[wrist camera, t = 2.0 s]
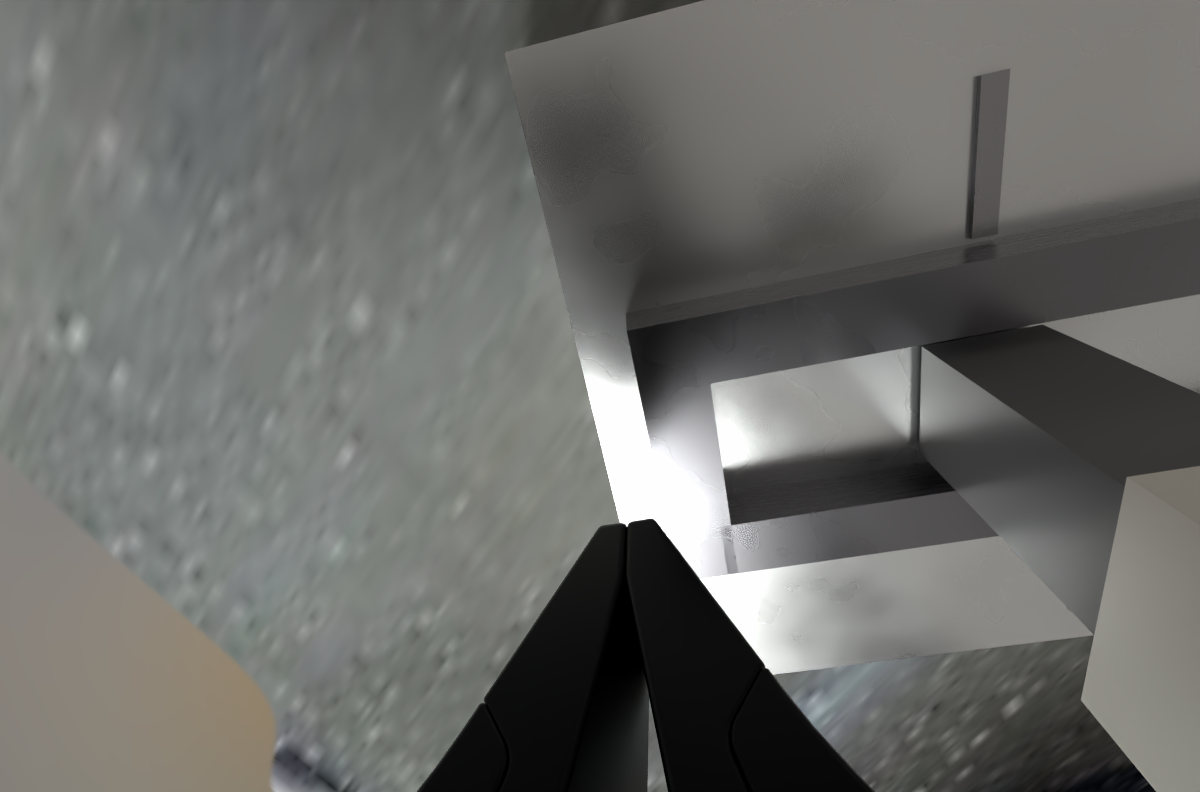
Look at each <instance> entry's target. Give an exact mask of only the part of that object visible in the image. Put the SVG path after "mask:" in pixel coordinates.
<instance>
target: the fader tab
mask: <svg viewBox="0 0 1200 792" xmlns="http://www.w3.org/2000/svg"><path fill="white" fill-rule="evenodd" d="M919 453H920V454H921V455H922V456H923V457H924V458H925V459H926V460H927V461H928V462H929V463H930V464H931V465H932V466H933V467H934V468H935V469H936V470H937V471H938V473H939V474H940V475H941V476H942V477H943V478H944V479H945V480H946V481H947V482H948V483H949V484H950V485H951V486H952V487H953V488H954V489H955V490H956V491H957V492H958V493H959V495H960V496H961V497H962V498H963V499H964V500H965V501H966V502H967V503H968V504H969V505H970V506H971V507H972V508H973V509H974V510H975V511H976V512H977V513H978V514H979V515H980V516H981V518H982V519H983V520H984V521H985V522H986V523H987V524H988V525H989V526H990V527H991V528H992V529H993V530H994V531H995V532H996V533H997V534H998V535H999V536H1000V537H1001V538H1002V539H1003V541H1004V542H1005V543H1006V544H1007V545H1008V546H1009V547H1010V548H1011V549H1012V550H1013V551H1014V552H1015V553H1016V554H1017V555H1018V556H1019V557H1020V558H1021V559H1022V560H1023V561H1024V562H1025V564H1026V565H1027V566H1028V567H1029V568H1030V569H1031V570H1032V571H1033V572H1034V573H1035V574H1036V575H1037V576H1038V577H1039V578H1040V579H1041V580H1042V581H1043V582H1044V583H1045V584H1046V585H1047V587H1048V588H1049V589H1050V590H1051V591H1052V592H1053V593H1054V594H1055V595H1056V596H1057V597H1058V598H1059V599H1060V600H1061V601H1062V602H1063V603H1064V604H1065V605H1066V606H1067V607H1068V608H1069V610H1070V611H1071V612H1072V613H1073V614H1074V615H1075V616H1076V617H1077V618H1078V619H1079V620H1080V621H1081V622H1082V623H1083V624H1084V625H1085V626H1086V627H1087V628H1088V629H1089V630H1090V631H1091V633H1092V634H1093V635H1094V638H1093V643H1092V648H1091V653H1090V658H1089V663H1088V667H1087V672H1086V677H1085V682H1084V687H1083V692H1082V696H1081V701H1082V702H1083V703H1084V705H1085V706H1086V707H1087V708H1088V710H1089V711H1090V712H1091V713H1092V714H1093V716H1094V717H1095V718H1096V719H1097V720H1098V722H1099V723H1100V724H1101V725H1102V727H1103V728H1104V729H1105V730H1106V731H1107V733H1108V734H1109V735H1110V736H1111V737H1112V739H1113V740H1114V741H1115V742H1116V744H1117V745H1118V746H1119V747H1120V748H1121V750H1122V751H1123V752H1124V753H1125V754H1126V756H1127V757H1128V758H1129V759H1130V761H1131V762H1132V763H1133V764H1134V765H1135V767H1136V768H1137V769H1138V770H1139V771H1140V773H1141V774H1142V775H1143V776H1144V778H1145V779H1146V780H1147V781H1148V782H1149V784H1150V785H1151V786H1152V787H1153V789H1154V790H1155V791H1156V792H1200V394H1199V393H1197V392H1194V391H1192V390H1190V389H1187V388H1185V387H1183V386H1181V385H1178V384H1176V383H1174V382H1172V381H1169V380H1167V379H1165V378H1163V377H1160V376H1158V375H1156V374H1154V373H1151V372H1149V371H1147V370H1144V369H1142V368H1140V367H1138V366H1135V365H1133V364H1131V363H1129V362H1126V361H1124V360H1122V359H1120V358H1117V357H1115V356H1113V355H1111V354H1108V353H1106V352H1104V351H1102V350H1099V349H1097V348H1095V347H1092V346H1090V345H1088V344H1086V343H1083V342H1081V341H1079V340H1077V339H1074V338H1072V337H1070V336H1068V335H1065V334H1063V333H1061V332H1059V331H1056V330H1054V329H1052V328H1049V327H1047V326H1045V325H1043V324H1042V325H1037V326H1031V327H1026V328H1021V329H1015V330H1010V331H1004V332H999V333H993V334H988V335H982V336H977V337H971V338H966V339H960V340H955V341H949V342H944V343H938V344H933V345H927V346H922V355H921V396H920V437H919Z"/></svg>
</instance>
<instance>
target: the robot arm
mask: <svg viewBox="0 0 1200 792" xmlns="http://www.w3.org/2000/svg"><path fill="white" fill-rule="evenodd" d="M649 698H650V703H651V708H652V713H653V718H654V723H655V728H656V733H657V738H658V743H659V748H660V753H661V758H662V763H663V768H664V773H665V778H666V783H667V788H668V792H875V791H874V790H873V789H872V788H871V787H870V786H869V785H868V784H867V783H866V782H865V781H864V780H863V779H862V778H861V777H860V776H859V775H858V774H857V773H856V772H855V771H854V770H853V769H852V768H851V766H850V765H849V764H848V763H847V762H846V761H845V760H844V759H843V758H842V757H841V756H840V754H839V753H838V752H837V751H836V750H835V749H834V748H833V747H832V746H831V745H830V744H829V742H828V741H827V740H826V739H825V738H824V737H823V736H822V735H821V734H820V733H819V732H818V730H817V729H816V728H815V727H814V726H813V725H812V723H811V722H810V721H809V720H808V719H807V717H806V716H805V715H804V714H803V712H802V711H801V710H800V709H799V707H798V706H797V705H796V704H795V703H794V701H793V700H792V699H791V698H790V696H789V695H788V694H787V693H786V691H785V690H784V689H783V687H782V686H781V685H780V683H779V682H778V681H777V679H776V678H775V677H774V676H773V674H772V673H771V672H770V670H769V669H767V668H765V665H764V663H763V662H762V660H761V659H760V658H759V656H758V655H757V654H756V652H755V651H754V650H753V648H752V647H751V646H750V644H749V643H748V642H747V640H746V639H745V638H744V636H743V635H742V634H741V632H740V631H739V630H738V628H737V627H736V626H735V624H734V623H733V622H732V621H731V619H730V618H729V617H728V615H727V614H726V613H725V611H724V610H723V609H722V607H721V606H720V605H719V603H718V602H717V601H716V599H715V598H714V597H713V595H712V594H711V593H710V591H709V590H708V589H707V587H706V586H705V585H704V584H703V582H702V581H701V580H700V578H699V577H698V576H697V574H696V573H695V572H694V570H693V569H692V568H691V566H690V565H689V564H688V562H687V561H686V560H685V558H684V557H683V556H682V554H681V553H680V552H679V550H678V549H677V548H676V546H675V545H674V544H673V543H672V541H671V540H670V539H669V537H668V536H667V535H666V533H665V532H664V531H663V529H662V528H661V527H660V525H659V524H658V523H657V521H656V520H655V519H653V518H648V519H642V520H635V521H631V522H629V523H628V525H626V524H625V523H616V524H610V525H604V526H601V527H600V528H599V529H598V530H597V531H596V533H595V534H594V536H593V537H592V539H591V540H590V542H589V543H588V545H587V546H586V548H585V549H584V551H583V552H582V554H581V555H580V557H579V558H578V560H577V561H576V562H575V564H574V565H573V567H572V568H571V570H570V571H569V573H568V574H567V576H566V577H565V579H564V580H563V582H562V583H561V585H560V586H559V588H558V589H557V591H556V592H555V594H554V595H553V597H552V598H551V600H550V601H549V603H548V604H547V606H546V607H545V609H544V610H543V611H542V613H541V614H540V616H539V617H538V619H537V620H536V622H535V623H534V625H533V626H532V628H531V629H530V631H529V632H528V634H527V635H526V637H525V638H524V640H523V641H522V643H521V644H520V646H519V647H518V649H517V650H516V652H515V653H514V655H513V656H512V657H511V659H510V660H509V662H508V663H507V665H506V666H505V668H504V669H503V671H502V672H501V674H500V675H499V677H498V678H497V680H496V681H495V683H494V684H493V686H492V687H491V689H490V690H489V692H488V693H487V695H486V696H485V698H484V703H485V704H484V703H481V704H480V705H479V706H478V708H477V709H476V711H475V712H474V713H473V715H472V716H471V718H470V719H469V721H468V722H467V724H466V725H465V727H464V728H463V730H462V731H461V733H460V734H459V735H458V737H457V738H456V740H455V741H454V742H453V744H452V745H451V747H450V748H449V749H448V751H447V752H446V754H445V755H444V757H443V758H442V759H441V761H440V762H439V764H438V765H437V766H436V768H435V769H434V770H433V772H432V773H431V774H430V775H429V777H428V778H427V779H426V781H425V782H424V783H423V784H422V786H421V787H420V788H419V790H418V791H417V792H647V781H648V722H649Z"/></svg>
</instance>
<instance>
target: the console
mask: <svg viewBox="0 0 1200 792" xmlns="http://www.w3.org/2000/svg"><path fill="white" fill-rule="evenodd" d="M504 53H505V57H506V62H507V66H508V70H509V74H510V78H511V82H512V86H513V90H514V94H515V98H516V102H517V106H518V110H519V114H520V118H521V122H522V126H523V130H524V135H525V139H526V143H527V147H528V151H529V155H530V159H531V163H532V167H533V171H534V175H535V179H536V183H537V187H538V191H539V195H540V199H541V203H542V208H543V212H544V216H545V220H546V224H547V228H548V232H549V236H550V240H551V244H552V248H553V252H554V256H555V260H556V264H557V268H558V272H559V276H560V281H561V285H562V289H563V293H564V297H565V301H566V305H567V309H568V313H569V317H570V321H571V325H572V329H573V333H574V337H575V341H576V345H577V349H578V354H579V358H580V362H581V366H582V370H583V374H584V378H585V382H586V386H587V390H588V394H589V398H590V402H591V406H592V410H593V414H594V418H595V422H596V427H597V431H598V435H599V439H600V443H601V447H602V451H603V455H604V459H605V463H606V467H607V471H608V475H609V479H610V483H611V487H612V491H613V495H614V500H615V504H616V508H617V512H618V516H619V520H620V523H625V524H626V525H628V523H629V522H631V521H635V520H642V519H648V518H653V519H655V520H656V521H657V523H658V524H659V525H660V527H661V528H662V529H663V531H664V532H665V533H666V535H667V536H668V537H669V539H670V540H671V541H672V543H673V544H674V545H675V546H676V548H677V549H678V550H679V552H680V553H681V554H682V556H683V557H684V558H685V560H686V561H687V562H688V564H689V565H690V566H691V568H692V569H693V570H694V572H695V573H696V574H697V576H698V577H699V578H700V580H701V581H702V582H703V584H704V585H705V586H706V587H707V589H708V590H709V591H710V593H711V594H712V595H713V597H714V598H715V599H716V601H717V602H718V603H719V605H720V606H721V607H722V609H723V610H724V611H725V613H726V614H727V615H728V617H729V618H730V619H731V621H732V622H733V623H734V624H735V626H736V627H737V628H738V630H739V631H740V632H741V634H742V635H743V636H744V638H745V639H746V640H747V642H748V643H749V644H750V646H751V647H752V648H753V650H754V651H755V652H756V654H757V655H758V656H759V658H760V659H761V660H762V662H763V663H764V665H765V668H767V669H769V670H770V672H771V673H772V674H782V673H790V672H798V671H806V670H814V669H822V668H831V667H839V666H847V665H855V664H863V663H871V662H880V661H888V660H896V659H904V658H912V657H920V656H929V655H937V654H945V653H953V652H961V651H969V650H978V649H986V648H994V647H1002V646H1010V645H1018V644H1027V643H1035V642H1043V641H1051V640H1059V639H1067V638H1076V637H1084V636H1092V635H1093V634H1092V633H1091V631H1090V630H1089V629H1088V628H1087V627H1086V626H1085V625H1084V624H1083V623H1082V622H1081V621H1080V620H1079V619H1078V618H1077V617H1076V616H1075V615H1074V614H1073V613H1072V612H1071V611H1070V610H1069V608H1068V607H1067V606H1066V605H1065V604H1064V603H1063V602H1062V601H1061V600H1060V599H1059V598H1058V597H1057V596H1056V595H1055V594H1054V593H1053V592H1052V591H1051V590H1050V589H1049V588H1048V587H1047V585H1046V584H1045V583H1044V582H1043V581H1042V580H1041V579H1040V578H1039V577H1038V576H1037V575H1036V574H1035V573H1034V572H1033V571H1032V570H1031V569H1030V568H1029V567H1028V566H1027V565H1026V564H1025V562H1024V561H1023V560H1022V559H1021V558H1020V557H1019V556H1018V555H1017V554H1016V553H1015V552H1014V551H1013V550H1012V549H1011V548H1010V547H1009V546H1008V545H1007V544H1006V543H1005V542H1004V541H1003V539H1002V538H1001V537H1000V536H999V535H998V534H997V533H996V532H995V531H994V530H993V529H992V528H991V527H990V526H989V525H988V524H987V523H986V522H985V521H984V520H983V519H982V518H981V516H980V515H979V514H978V513H977V512H976V511H975V510H974V509H973V508H972V507H971V506H970V505H969V504H968V503H967V502H966V501H965V500H964V499H963V498H962V497H961V496H960V495H959V493H958V492H957V491H956V490H955V489H954V488H953V487H952V486H951V485H950V484H949V483H948V482H947V481H946V480H945V479H944V478H943V477H942V476H941V475H940V474H939V473H938V471H937V470H936V469H935V468H934V467H933V466H932V465H931V464H930V463H929V462H928V461H927V460H926V459H925V458H924V457H923V456H922V455H921V454H920V453H919V437H920V396H921V355H922V346H927V345H933V344H938V343H944V342H949V341H955V340H960V339H966V338H971V337H977V336H982V335H988V334H993V333H999V332H1004V331H1010V330H1015V329H1021V328H1026V327H1031V326H1037V325H1042V324H1043V325H1045V326H1047V327H1049V328H1052V329H1054V330H1056V331H1059V332H1061V333H1063V334H1065V335H1068V336H1070V337H1072V338H1074V339H1077V340H1079V341H1081V342H1083V343H1086V344H1088V345H1090V346H1092V347H1095V348H1097V349H1099V350H1102V351H1104V352H1106V353H1108V354H1111V355H1113V356H1115V357H1117V358H1120V359H1122V360H1124V361H1126V362H1129V363H1131V364H1133V365H1135V366H1138V367H1140V368H1142V369H1144V370H1147V371H1149V372H1151V373H1154V374H1156V375H1158V376H1160V377H1163V378H1165V379H1167V380H1169V381H1172V382H1174V383H1176V384H1178V385H1181V386H1183V387H1185V388H1187V389H1190V390H1192V391H1194V392H1197V393H1199V394H1200V0H703V1H699V2H695V3H691V4H687V5H684V6H680V7H676V8H672V9H668V10H665V11H661V12H657V13H653V14H649V15H645V16H642V17H638V18H634V19H630V20H626V21H622V22H619V23H615V24H611V25H607V26H603V27H599V28H596V29H592V30H588V31H584V32H580V33H576V34H573V35H569V36H565V37H561V38H557V39H553V40H550V41H546V42H542V43H538V44H534V45H530V46H527V47H523V48H519V49H515V50H511V51H507V52H504Z"/></svg>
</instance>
